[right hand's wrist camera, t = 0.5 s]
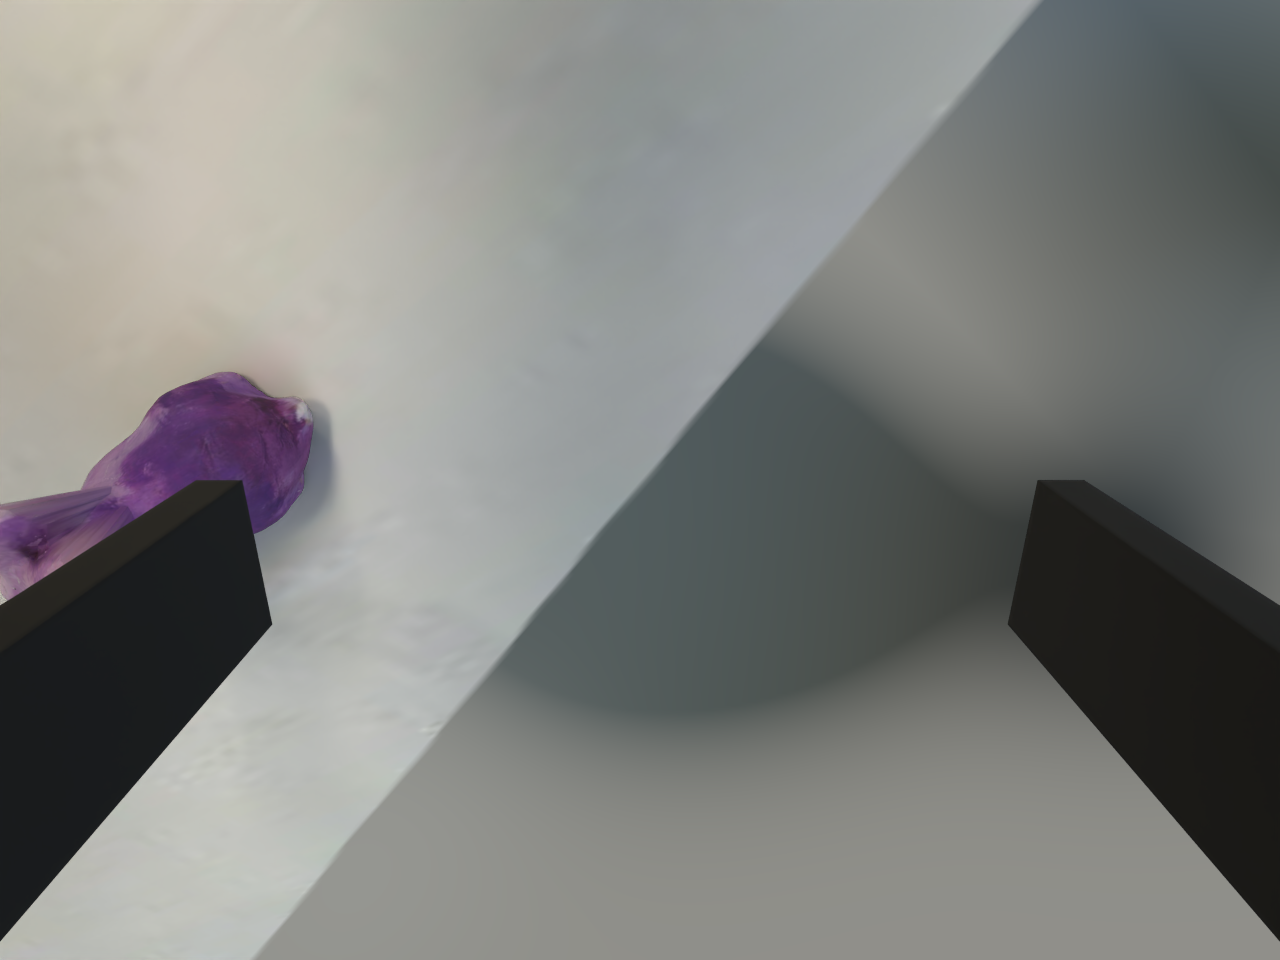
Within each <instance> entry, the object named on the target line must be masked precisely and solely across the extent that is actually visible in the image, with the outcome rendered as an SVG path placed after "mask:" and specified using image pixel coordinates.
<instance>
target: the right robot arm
mask: <svg viewBox="0 0 1280 960" xmlns="http://www.w3.org/2000/svg"><path fill="white" fill-rule="evenodd" d="M271 625H272V621H271V616H270V611H269V606H268V602H267V597H266V592H265V587H264V582H263V577H262V573H261V568H260V563H259V558H258V553H257V548H256V544H255V539H254V534H253V529H252V524H251V520H250V515H249V510H248V505H247V500H246V495H245V491H244V486H243V481H242V480H195V481H194V482H192V483H191V484H189V485H188V486H186V487H184V488H183V489H181V490H180V491H178V492H177V493H175V494H174V495H172V496H170V497H169V498H167V499H166V500H164V501H163V502H161V503H159V504H158V505H156V506H155V507H153V508H152V509H150V510H149V511H147V512H145V513H144V514H142V515H141V516H139V517H138V518H136V519H135V520H133V521H131V522H130V523H128V524H127V525H125V526H124V527H122V528H120V529H119V530H117V531H116V532H114V533H113V534H111V535H110V536H108V537H106V538H105V539H103V540H102V541H100V542H99V543H97V544H95V545H94V546H92V547H91V548H89V549H88V550H86V551H85V552H83V553H81V554H80V555H78V556H77V557H75V558H74V559H72V560H70V561H69V562H67V563H66V564H64V565H63V566H61V567H60V568H58V569H56V570H55V571H53V572H52V573H50V574H49V575H47V576H46V577H44V578H42V579H41V580H39V581H38V582H36V583H35V584H33V585H31V586H30V587H28V588H27V589H25V590H24V591H22V592H21V593H19V594H17V595H16V596H14V597H13V598H11V599H10V600H8V601H6V602H5V603H3V604H2V605H0V941H1V940H2V939H3V938H4V936H5V935H6V934H7V933H8V932H9V931H10V929H11V928H12V927H13V926H14V925H15V924H16V922H17V921H18V920H19V919H20V918H21V917H22V915H23V914H24V913H25V912H26V911H27V910H28V908H29V907H30V906H31V905H32V904H33V903H34V901H35V900H36V899H37V898H38V897H39V896H40V894H41V893H42V892H43V891H44V890H45V889H46V887H47V886H48V885H49V884H50V883H51V882H52V880H53V879H54V878H55V877H56V876H57V875H58V873H59V872H60V871H61V870H62V869H63V868H64V866H65V865H66V864H67V863H68V862H69V861H70V859H71V858H72V857H73V856H74V855H75V854H76V852H77V851H78V850H79V849H80V848H81V847H82V845H83V844H84V843H85V842H86V841H87V840H88V838H89V837H90V836H91V835H92V834H93V833H94V831H95V830H96V829H97V828H98V827H99V826H100V824H101V823H102V822H103V821H104V820H105V819H106V817H107V816H108V815H109V814H110V813H111V812H112V810H113V809H114V808H115V807H116V806H117V805H118V803H119V802H120V801H121V800H122V799H123V798H124V797H125V795H126V794H127V793H128V792H129V791H130V790H131V788H132V787H133V786H134V785H135V784H136V783H137V781H138V780H139V779H140V778H141V777H142V776H143V774H144V773H145V772H146V771H147V770H148V769H149V767H150V766H151V765H152V764H153V763H154V762H155V760H156V759H157V758H158V757H159V756H160V755H161V753H162V752H163V751H164V750H165V749H166V748H167V746H168V745H169V744H170V743H171V742H172V741H173V739H174V738H175V737H176V736H177V735H178V734H179V732H180V731H181V730H182V729H183V728H184V727H185V725H186V724H187V723H188V722H189V721H190V720H191V718H192V717H193V716H194V715H195V714H196V713H197V711H198V710H199V709H200V708H201V707H202V706H203V704H204V703H205V702H206V701H207V700H208V699H209V697H210V696H211V695H212V694H213V693H214V692H215V690H216V689H217V688H218V687H219V686H220V685H221V683H222V682H223V681H224V680H225V679H226V678H227V676H228V675H229V674H230V673H231V672H232V671H233V669H234V668H235V667H236V666H237V665H238V664H239V662H240V661H241V660H242V659H243V658H244V657H245V655H246V654H247V653H248V652H249V651H250V650H251V648H252V647H253V646H254V645H255V644H256V643H257V642H258V640H259V639H260V638H261V637H262V636H263V635H264V633H265V632H266V631H267V630H268V629H269V628H270V626H271ZM1008 625H1009V626H1010V627H1011V629H1012V630H1013V631H1014V632H1015V633H1016V634H1017V636H1018V637H1019V638H1020V639H1021V640H1022V641H1023V643H1024V644H1025V645H1026V646H1027V647H1028V648H1029V650H1030V651H1031V652H1032V653H1033V654H1034V655H1035V657H1036V658H1037V659H1038V660H1039V661H1040V662H1041V664H1042V665H1043V666H1044V667H1045V668H1046V669H1047V671H1048V672H1049V673H1050V674H1051V675H1052V676H1053V678H1054V679H1055V680H1056V681H1057V682H1058V683H1059V685H1060V686H1061V687H1062V688H1063V689H1064V690H1065V692H1066V693H1067V694H1068V695H1069V696H1070V697H1071V699H1072V700H1073V701H1074V702H1075V703H1076V704H1077V706H1078V707H1079V708H1080V709H1081V710H1082V711H1083V713H1084V714H1085V715H1086V716H1087V717H1088V718H1089V720H1090V721H1091V722H1092V723H1093V724H1094V725H1095V727H1096V728H1097V729H1098V730H1099V731H1100V732H1101V734H1102V735H1103V736H1104V737H1105V738H1106V739H1107V741H1108V742H1109V743H1110V744H1111V745H1112V746H1113V748H1114V749H1115V750H1116V751H1117V752H1118V753H1119V754H1120V756H1121V757H1122V758H1123V759H1124V760H1125V761H1126V763H1127V764H1128V765H1129V766H1130V767H1131V769H1132V770H1133V771H1134V772H1135V773H1136V774H1137V776H1138V777H1139V778H1140V779H1141V780H1142V781H1143V783H1144V784H1145V785H1146V786H1147V787H1148V788H1149V789H1150V791H1151V792H1152V793H1153V794H1154V795H1155V797H1156V798H1157V799H1158V800H1159V801H1160V802H1161V803H1162V805H1163V806H1164V807H1165V808H1166V809H1167V810H1168V812H1169V813H1170V814H1171V815H1172V816H1173V817H1174V819H1175V820H1176V821H1177V822H1178V823H1179V824H1180V826H1181V827H1182V828H1183V829H1184V830H1185V831H1186V833H1187V834H1188V835H1189V836H1190V837H1191V838H1192V840H1193V841H1194V842H1195V843H1196V844H1197V845H1198V847H1199V848H1200V849H1201V850H1202V851H1203V852H1204V854H1205V855H1206V856H1207V857H1208V858H1209V859H1210V861H1211V862H1212V863H1213V864H1214V865H1215V866H1216V867H1217V869H1218V870H1219V871H1220V872H1221V873H1222V875H1223V876H1224V877H1225V878H1226V879H1227V880H1228V882H1229V883H1230V884H1231V885H1232V886H1233V887H1234V889H1235V890H1236V891H1237V892H1238V893H1239V894H1240V896H1241V897H1242V898H1243V899H1244V900H1245V901H1246V903H1247V904H1248V905H1249V906H1250V907H1251V908H1252V910H1253V911H1254V912H1255V913H1256V914H1257V915H1258V917H1259V918H1260V919H1261V920H1262V921H1263V922H1264V924H1265V925H1266V926H1267V927H1268V928H1269V929H1270V931H1271V932H1272V933H1273V934H1274V935H1275V936H1276V937H1277V939H1278V940H1279V941H1280V605H1278V604H1277V603H1275V602H1274V601H1272V600H1270V599H1269V598H1267V597H1266V596H1264V595H1263V594H1261V593H1259V592H1258V591H1256V590H1255V589H1253V588H1252V587H1250V586H1249V585H1247V584H1245V583H1244V582H1242V581H1241V580H1239V579H1238V578H1236V577H1234V576H1233V575H1231V574H1230V573H1228V572H1227V571H1225V570H1224V569H1222V568H1220V567H1219V566H1217V565H1216V564H1214V563H1213V562H1211V561H1209V560H1208V559H1206V558H1205V557H1203V556H1202V555H1200V554H1199V553H1197V552H1195V551H1194V550H1192V549H1191V548H1189V547H1188V546H1186V545H1185V544H1183V543H1181V542H1180V541H1178V540H1177V539H1175V538H1174V537H1172V536H1170V535H1169V534H1167V533H1166V532H1164V531H1163V530H1161V529H1159V528H1158V527H1156V526H1155V525H1153V524H1152V523H1150V522H1149V521H1147V520H1145V519H1144V518H1142V517H1141V516H1139V515H1138V514H1136V513H1134V512H1133V511H1131V510H1130V509H1128V508H1127V507H1125V506H1124V505H1122V504H1121V503H1119V502H1117V501H1116V500H1114V499H1113V498H1111V497H1110V496H1108V495H1106V494H1105V493H1103V492H1102V491H1100V490H1099V489H1097V488H1096V487H1094V486H1092V485H1091V484H1089V483H1088V482H1086V481H1085V480H1038V481H1037V486H1036V491H1035V495H1034V500H1033V505H1032V510H1031V515H1030V520H1029V524H1028V529H1027V534H1026V539H1025V544H1024V549H1023V553H1022V558H1021V563H1020V568H1019V573H1018V577H1017V582H1016V587H1015V592H1014V597H1013V602H1012V606H1011V612H1010V616H1009V621H1008Z"/></svg>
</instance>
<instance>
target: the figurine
mask: <svg viewBox="0 0 1280 960" xmlns="http://www.w3.org/2000/svg"><path fill="white" fill-rule="evenodd" d="M312 432H313V417H312V414H311V411H310V409H309V407H308V405H307V404H306V403H305V402H304V401H303V400H302V399H300V398H297V397H286V398H271V397H268V396H266V395H265V394H264V393H263V392H261V391H259V390H257V389H256V388H255V387H254V386H252V385H251V384H250V383H249V382H248V381H247V380H246V379H245V378H244V377H242V376H240V375H239V374H237V373H233V372H220V373H215V374H212V375H210V376H207V377H205V378H203V379H200V380H198V381H195V382H191V383H188V384H185V385H182V386H180V387H178V388H175V389H173V390H171V391H169V392H167V393H165V394H164V395H162V396H161V397H159V398H158V400H157V401H156V402H155V403H154V404H153V406H152V407H151V408H150V409H149V411H148V412H147V414H146V415H145V417H144V419H143V421H142V422H141V424H140V426H139V427H138V428H137V429H136V430H135V431H134V432H133V434H132V435H130V436H129V437H128V438H127V439H125V440H124V441H123V442H121V443H120V444H119V445H118V446H116V447H115V448H114V449H112V450H111V451H110V452H109V453H108V454H106V455H105V456H104V457H103V458H102V459H101V460H100V461H99V462H98V463H97V464H96V465H95V466H94V467H93V468H92V470H91V471H90V472H89V474H88V476H87V478H86V480H85V482H84V484H83V486H82V488H81V490H80V491H74V492H68V493H63V494H57V495H51V496H46V497H40V498H34V499H28V500H23V501H17V502H11V503H6V504H0V591H1V593H2V595H3V596H4V597H5V598H6V599H7V600H10V599H11V598H13V597H14V596H16V595H17V594H19V593H21V592H22V591H24V590H25V589H27V588H28V587H30V586H31V585H33V584H35V583H36V582H38V581H39V580H41V579H42V578H44V577H46V576H47V575H49V574H50V573H52V572H53V571H55V570H56V569H58V568H60V567H61V566H63V565H64V564H66V563H67V562H69V561H70V560H72V559H74V558H75V557H77V556H78V555H80V554H81V553H83V552H85V551H86V550H88V549H89V548H91V547H92V546H94V545H95V544H97V543H99V542H100V541H102V540H103V539H105V538H106V537H108V536H110V535H111V534H113V533H114V532H116V531H117V530H119V529H120V528H122V527H124V526H125V525H127V524H128V523H130V522H131V521H133V520H135V519H136V518H138V517H139V516H141V515H142V514H144V513H145V512H147V511H149V510H150V509H152V508H153V507H155V506H156V505H158V504H159V503H161V502H163V501H164V500H166V499H167V498H169V497H170V496H172V495H174V494H175V493H177V492H178V491H180V490H181V489H183V488H184V487H186V486H188V485H189V484H191V483H192V482H194V481H195V480H242V481H243V486H244V491H245V495H246V500H247V505H248V510H249V515H250V520H251V524H252V529H253V534H255V533H257V532H260V531H262V530H264V529H266V528H267V527H269V526H270V525H272V524H274V523H275V522H277V521H278V520H279V519H280V518H281V517H283V515H284V514H285V513H286V512H287V510H288V509H289V508H290V506H291V505H292V504H293V502H294V501H295V500H296V499H297V497H298V496H299V495H300V494H301V492H302V490H303V487H304V473H303V471H304V468H305V466H306V463H307V460H308V457H309V452H310V445H311V438H312Z"/></svg>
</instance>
